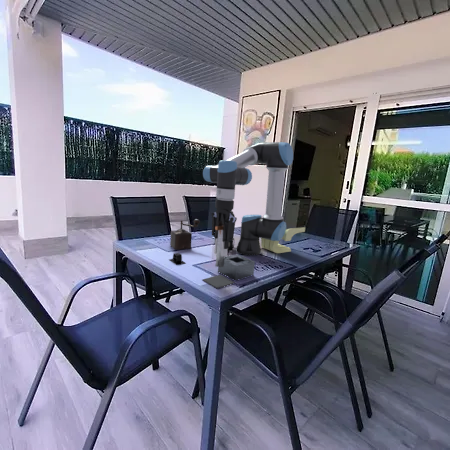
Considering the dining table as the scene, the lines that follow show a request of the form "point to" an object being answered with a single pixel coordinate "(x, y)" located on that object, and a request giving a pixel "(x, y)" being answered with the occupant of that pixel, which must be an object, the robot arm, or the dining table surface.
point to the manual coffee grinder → (182, 237)
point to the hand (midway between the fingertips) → (220, 254)
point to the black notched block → (177, 259)
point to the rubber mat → (218, 281)
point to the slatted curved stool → (274, 245)
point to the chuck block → (237, 267)
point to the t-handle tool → (219, 247)
